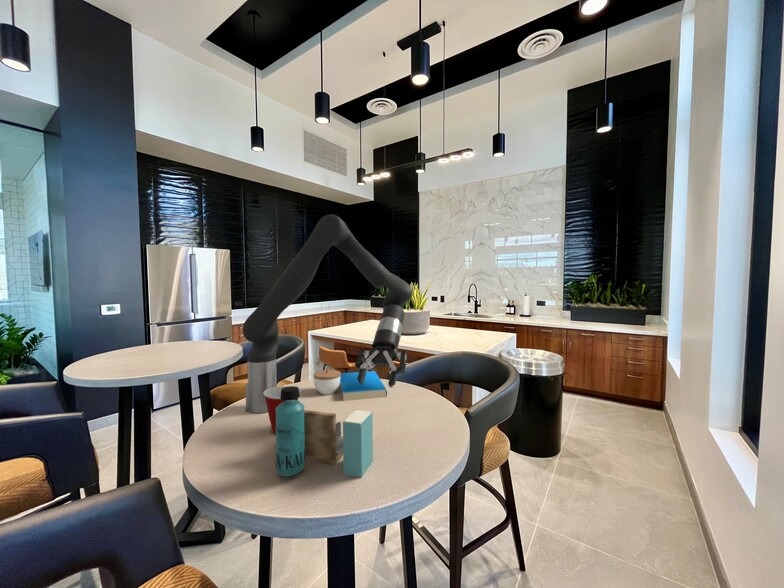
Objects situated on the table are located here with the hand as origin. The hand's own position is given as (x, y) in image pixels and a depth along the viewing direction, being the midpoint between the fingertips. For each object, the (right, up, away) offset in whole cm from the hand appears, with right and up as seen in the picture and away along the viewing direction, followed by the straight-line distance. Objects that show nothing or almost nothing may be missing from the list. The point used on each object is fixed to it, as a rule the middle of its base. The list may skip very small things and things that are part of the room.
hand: (375, 384), depth 85 cm
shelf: (-15, -16, -1) cm, 22 cm away
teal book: (-3, -17, -10) cm, 20 cm away
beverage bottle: (-19, -17, -13) cm, 28 cm away
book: (-8, -16, +47) cm, 50 cm away
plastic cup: (-28, -16, +9) cm, 34 cm away
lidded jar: (-22, -16, +43) cm, 50 cm away
